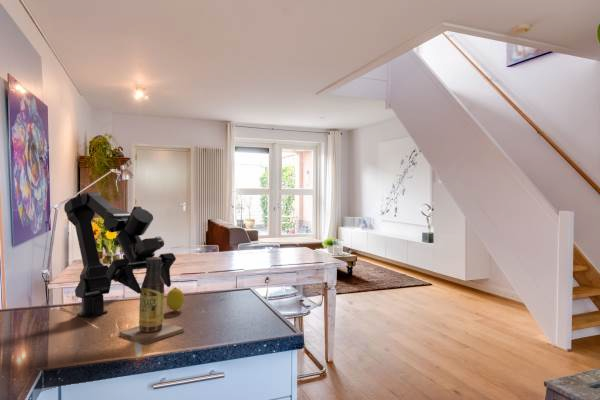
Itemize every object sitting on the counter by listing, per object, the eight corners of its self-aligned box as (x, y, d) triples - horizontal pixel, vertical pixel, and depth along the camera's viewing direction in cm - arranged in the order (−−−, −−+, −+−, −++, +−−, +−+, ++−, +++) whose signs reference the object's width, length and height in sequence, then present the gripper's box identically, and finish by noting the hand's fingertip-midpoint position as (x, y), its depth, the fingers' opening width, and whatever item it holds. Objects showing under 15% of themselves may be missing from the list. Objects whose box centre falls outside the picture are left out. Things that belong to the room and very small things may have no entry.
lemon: (178, 314, 121) (178, 289, 122) (163, 313, 123) (163, 288, 123) (186, 309, 127) (187, 286, 127) (172, 308, 128) (172, 285, 128)
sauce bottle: (133, 332, 101) (134, 258, 101) (148, 325, 107) (149, 255, 108) (154, 334, 99) (155, 259, 100) (168, 327, 106) (169, 256, 106)
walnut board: (119, 335, 102) (119, 331, 102) (158, 323, 112) (158, 320, 112) (145, 344, 95) (145, 340, 95) (184, 331, 105) (184, 328, 105)
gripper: (112, 229, 98) (135, 276, 92) (172, 226, 114) (196, 265, 107) (96, 257, 103) (118, 303, 96) (156, 250, 118) (178, 289, 112)
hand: (155, 289), depth 103 cm, fingers open, 9 cm apart
